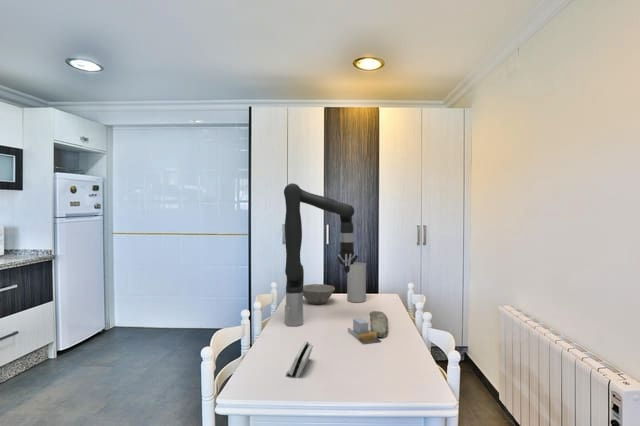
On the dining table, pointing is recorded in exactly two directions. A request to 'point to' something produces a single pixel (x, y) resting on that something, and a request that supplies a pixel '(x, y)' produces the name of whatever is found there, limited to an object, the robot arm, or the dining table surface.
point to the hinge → (300, 360)
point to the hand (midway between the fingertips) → (346, 272)
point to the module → (360, 325)
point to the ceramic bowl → (317, 293)
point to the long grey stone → (379, 323)
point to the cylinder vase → (356, 283)
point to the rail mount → (365, 337)
